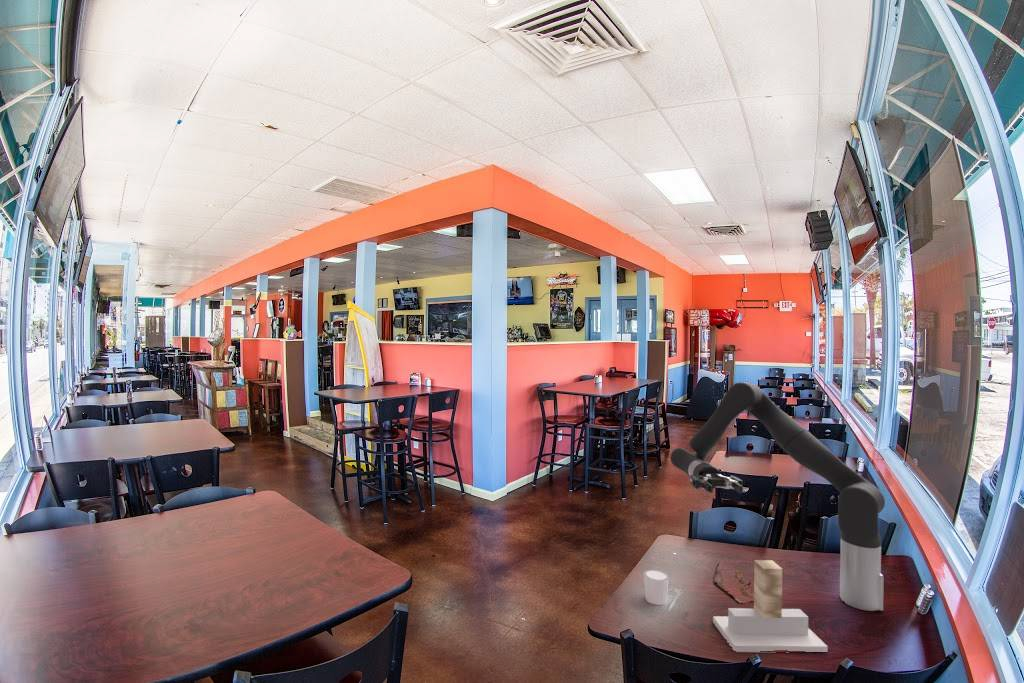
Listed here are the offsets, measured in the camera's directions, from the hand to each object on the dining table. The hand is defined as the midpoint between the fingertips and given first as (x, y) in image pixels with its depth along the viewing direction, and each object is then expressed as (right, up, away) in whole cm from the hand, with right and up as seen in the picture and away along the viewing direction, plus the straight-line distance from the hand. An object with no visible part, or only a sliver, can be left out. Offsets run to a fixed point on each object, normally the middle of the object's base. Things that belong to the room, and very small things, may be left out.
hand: (726, 489), depth 140 cm
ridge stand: (+1, -30, -21) cm, 37 cm away
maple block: (+1, -24, -21) cm, 32 cm away
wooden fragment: (+4, -31, +7) cm, 32 cm away
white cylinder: (-22, -30, -4) cm, 37 cm away
